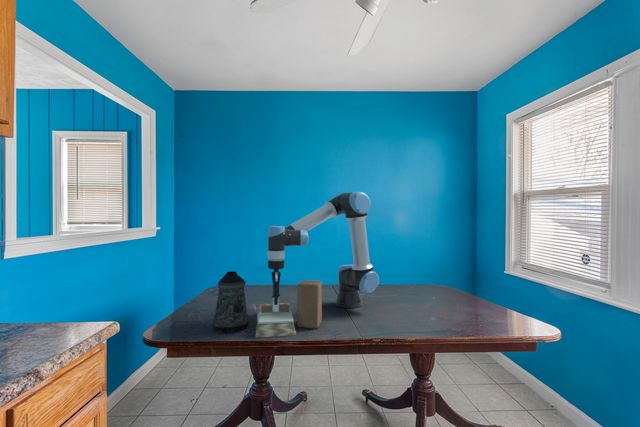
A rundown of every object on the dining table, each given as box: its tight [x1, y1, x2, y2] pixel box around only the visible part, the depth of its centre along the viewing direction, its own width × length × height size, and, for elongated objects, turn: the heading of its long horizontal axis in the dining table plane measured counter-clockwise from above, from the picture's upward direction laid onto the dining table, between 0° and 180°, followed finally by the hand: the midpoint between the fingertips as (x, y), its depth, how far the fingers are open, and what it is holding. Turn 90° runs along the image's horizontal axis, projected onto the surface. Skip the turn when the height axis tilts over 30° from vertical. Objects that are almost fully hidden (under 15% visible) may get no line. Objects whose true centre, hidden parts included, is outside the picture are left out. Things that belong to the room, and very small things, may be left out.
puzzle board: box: [255, 302, 297, 338], centre depth 147 cm, size 17×32×5 cm, turn 10°
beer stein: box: [211, 270, 251, 335], centre depth 143 cm, size 16×19×25 cm
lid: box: [258, 303, 295, 324], centre depth 139 cm, size 15×15×4 cm
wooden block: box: [296, 279, 323, 329], centre depth 146 cm, size 10×10×20 cm
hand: (275, 311), depth 142 cm, fingers closed
